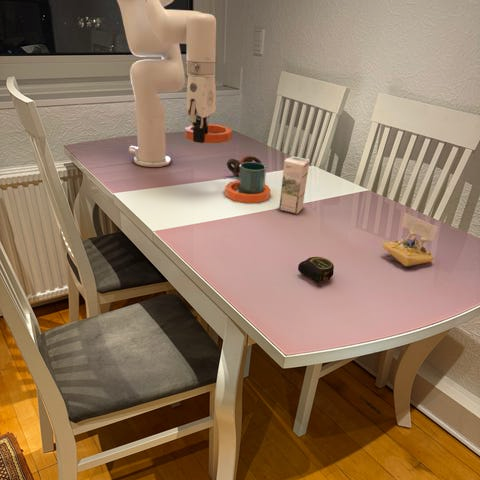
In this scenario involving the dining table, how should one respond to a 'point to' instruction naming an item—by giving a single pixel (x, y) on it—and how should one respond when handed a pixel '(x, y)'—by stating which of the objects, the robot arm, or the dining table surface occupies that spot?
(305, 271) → the tape measure
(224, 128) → the orange ring
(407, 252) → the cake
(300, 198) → the syrup box
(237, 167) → the broken clay pot
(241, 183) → the tumbler
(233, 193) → the orange ring
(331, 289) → the dining table surface
